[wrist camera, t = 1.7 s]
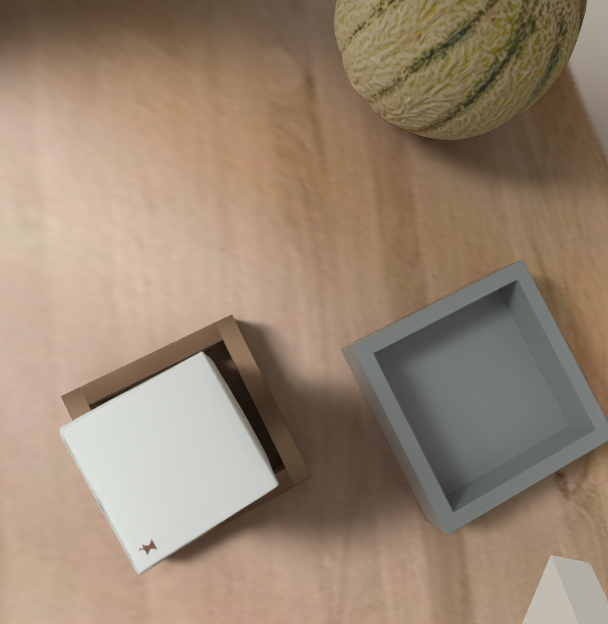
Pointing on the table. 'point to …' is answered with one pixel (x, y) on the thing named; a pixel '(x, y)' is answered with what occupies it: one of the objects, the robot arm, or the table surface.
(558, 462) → the slate tray
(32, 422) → the table surface
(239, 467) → the supplement box
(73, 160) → the table surface
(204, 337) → the walnut collar
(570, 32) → the cantaloupe
